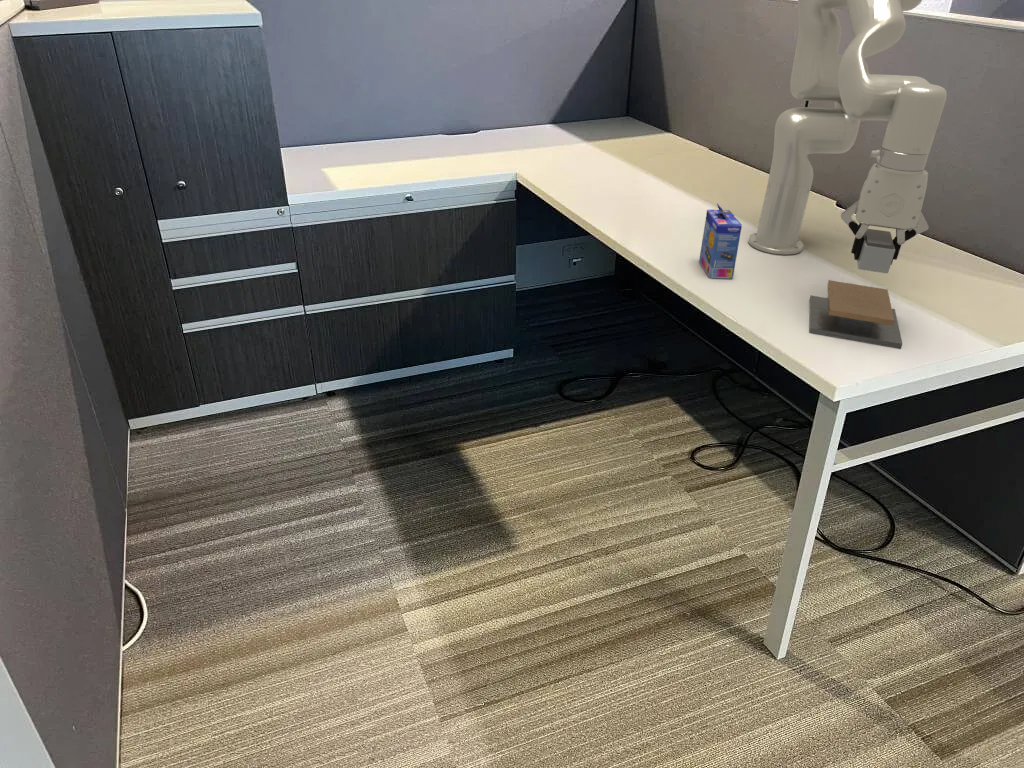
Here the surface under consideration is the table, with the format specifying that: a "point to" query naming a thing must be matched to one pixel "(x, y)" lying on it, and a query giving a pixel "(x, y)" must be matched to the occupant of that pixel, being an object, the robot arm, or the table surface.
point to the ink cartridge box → (720, 243)
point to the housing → (876, 251)
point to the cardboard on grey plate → (855, 314)
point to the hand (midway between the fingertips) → (872, 259)
